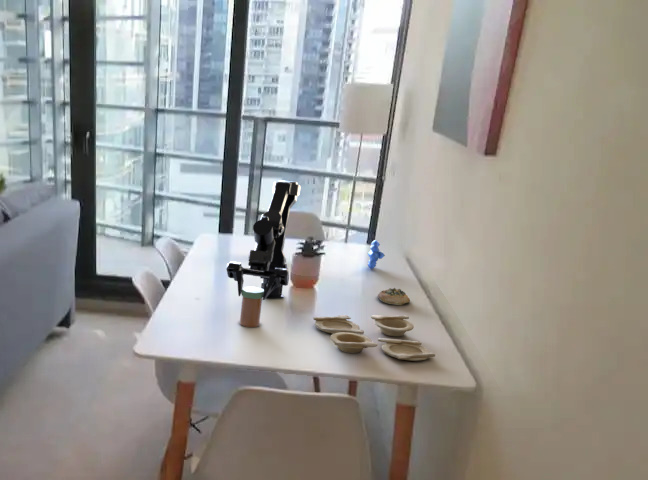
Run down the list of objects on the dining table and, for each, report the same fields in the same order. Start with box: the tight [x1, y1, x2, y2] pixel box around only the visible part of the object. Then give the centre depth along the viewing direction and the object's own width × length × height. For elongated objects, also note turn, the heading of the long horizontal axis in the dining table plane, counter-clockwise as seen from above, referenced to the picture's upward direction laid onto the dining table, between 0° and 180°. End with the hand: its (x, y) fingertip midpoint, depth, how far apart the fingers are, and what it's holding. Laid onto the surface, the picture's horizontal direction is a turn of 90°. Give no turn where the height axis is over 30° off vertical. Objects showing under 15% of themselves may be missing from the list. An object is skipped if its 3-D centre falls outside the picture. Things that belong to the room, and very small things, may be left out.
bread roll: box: [377, 287, 411, 306], centre depth 250 cm, size 11×11×5 cm
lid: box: [241, 286, 264, 299], centre depth 217 cm, size 7×7×2 cm
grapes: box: [367, 239, 386, 270], centre depth 289 cm, size 12×7×12 cm, turn 160°
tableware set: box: [312, 314, 436, 362], centre depth 211 cm, size 35×29×4 cm
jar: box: [239, 295, 263, 328], centre depth 219 cm, size 6×6×11 cm
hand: (251, 297), depth 217 cm, fingers open, 7 cm apart
